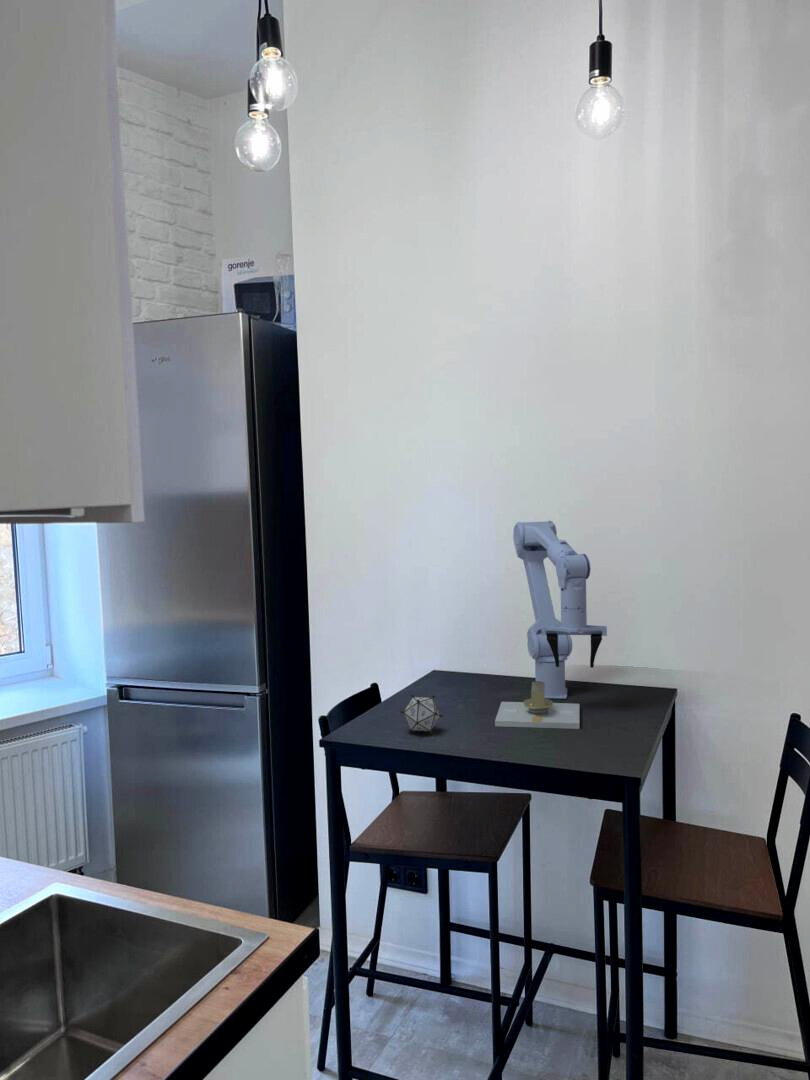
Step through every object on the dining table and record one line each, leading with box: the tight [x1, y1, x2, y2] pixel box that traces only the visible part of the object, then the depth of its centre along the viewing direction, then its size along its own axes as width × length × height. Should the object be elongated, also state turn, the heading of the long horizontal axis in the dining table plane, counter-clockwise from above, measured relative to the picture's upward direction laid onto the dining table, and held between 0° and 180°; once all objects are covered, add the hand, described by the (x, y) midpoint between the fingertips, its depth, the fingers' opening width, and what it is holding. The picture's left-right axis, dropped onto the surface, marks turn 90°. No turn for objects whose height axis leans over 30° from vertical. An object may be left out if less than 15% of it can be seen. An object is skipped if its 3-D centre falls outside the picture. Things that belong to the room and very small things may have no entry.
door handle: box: [523, 680, 554, 709], centre depth 189 cm, size 6×9×4 cm
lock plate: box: [494, 701, 581, 730], centre depth 189 cm, size 16×18×2 cm
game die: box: [399, 693, 444, 736], centre depth 180 cm, size 9×8×10 cm
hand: (574, 666), depth 193 cm, fingers open, 7 cm apart
